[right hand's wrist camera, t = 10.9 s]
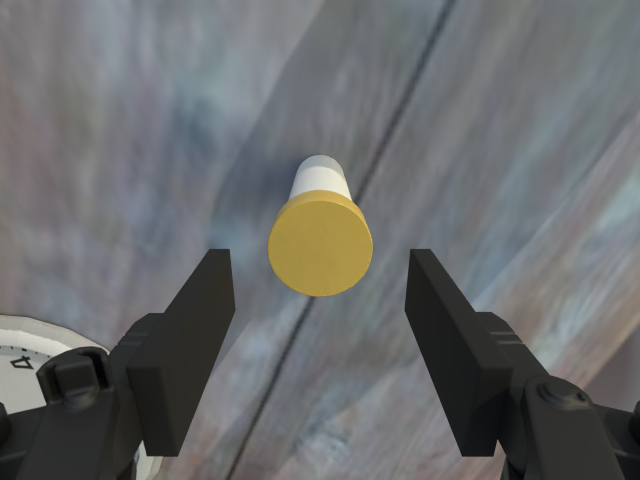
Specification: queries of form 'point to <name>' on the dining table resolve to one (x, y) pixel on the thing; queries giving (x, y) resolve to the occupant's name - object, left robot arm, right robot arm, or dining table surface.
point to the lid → (319, 243)
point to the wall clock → (28, 356)
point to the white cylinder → (320, 176)
